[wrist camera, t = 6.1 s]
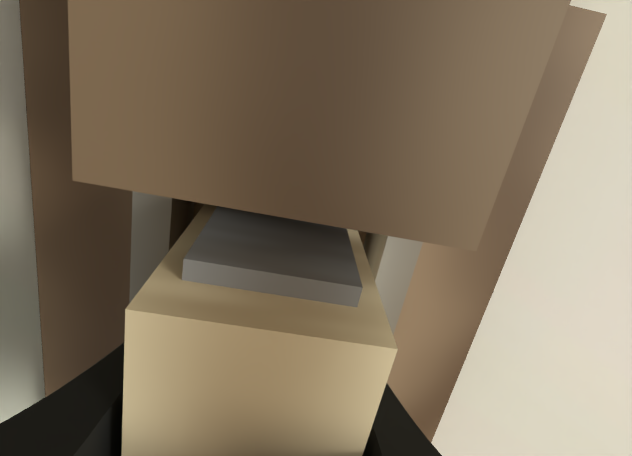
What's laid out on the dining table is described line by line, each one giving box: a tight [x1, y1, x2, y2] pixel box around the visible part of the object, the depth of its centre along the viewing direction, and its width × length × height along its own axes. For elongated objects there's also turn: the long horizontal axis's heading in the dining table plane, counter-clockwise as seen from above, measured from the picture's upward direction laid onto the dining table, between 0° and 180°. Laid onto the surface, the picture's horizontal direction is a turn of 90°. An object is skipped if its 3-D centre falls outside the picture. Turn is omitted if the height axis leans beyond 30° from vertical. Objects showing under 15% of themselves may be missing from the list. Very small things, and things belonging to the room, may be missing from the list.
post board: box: [19, 0, 607, 442], centre depth 13 cm, size 16×28×7 cm, turn 169°
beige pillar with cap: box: [121, 204, 398, 456], centre depth 10 cm, size 4×8×7 cm, turn 169°
